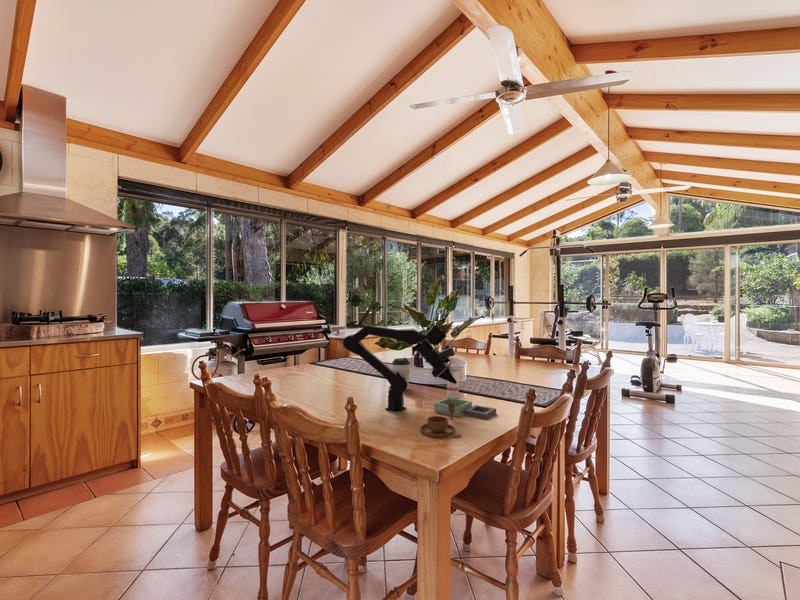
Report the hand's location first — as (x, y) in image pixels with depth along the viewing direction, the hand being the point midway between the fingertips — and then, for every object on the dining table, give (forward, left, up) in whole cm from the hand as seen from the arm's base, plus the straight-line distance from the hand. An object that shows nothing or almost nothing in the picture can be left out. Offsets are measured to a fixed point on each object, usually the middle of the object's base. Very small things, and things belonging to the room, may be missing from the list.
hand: (456, 381), depth 161 cm
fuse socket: (+1, -10, -12) cm, 15 cm away
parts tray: (-1, +1, -12) cm, 12 cm away
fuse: (-1, +1, -7) cm, 7 cm away
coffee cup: (+17, +41, -12) cm, 46 cm away
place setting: (-21, -8, -12) cm, 25 cm away
